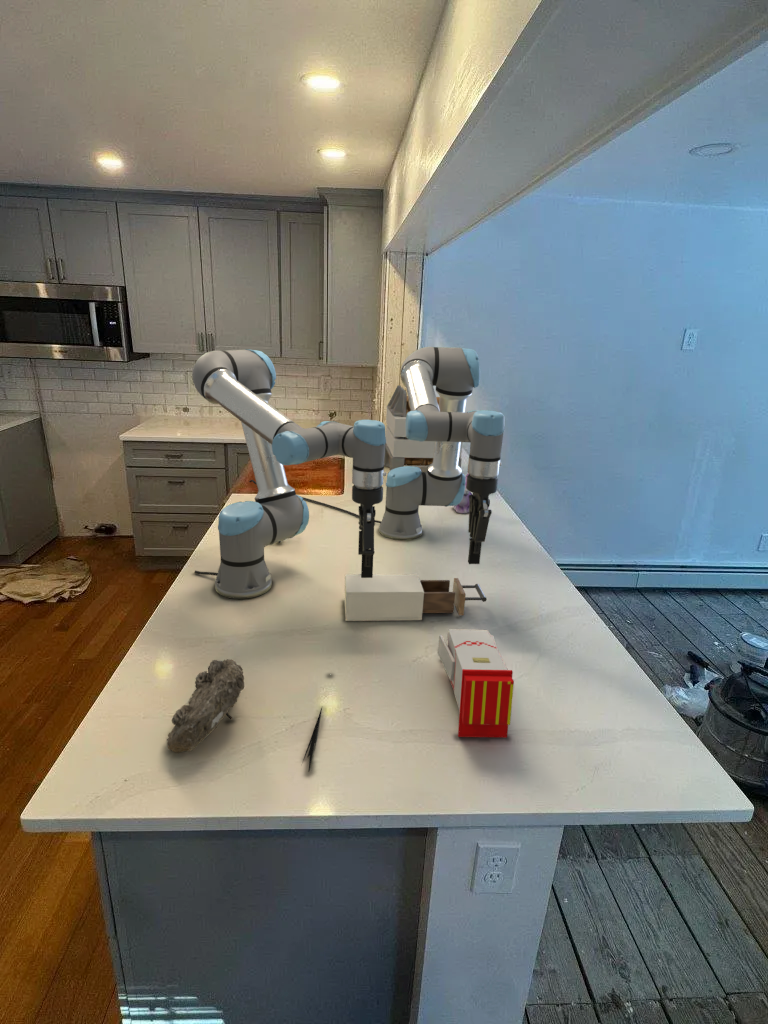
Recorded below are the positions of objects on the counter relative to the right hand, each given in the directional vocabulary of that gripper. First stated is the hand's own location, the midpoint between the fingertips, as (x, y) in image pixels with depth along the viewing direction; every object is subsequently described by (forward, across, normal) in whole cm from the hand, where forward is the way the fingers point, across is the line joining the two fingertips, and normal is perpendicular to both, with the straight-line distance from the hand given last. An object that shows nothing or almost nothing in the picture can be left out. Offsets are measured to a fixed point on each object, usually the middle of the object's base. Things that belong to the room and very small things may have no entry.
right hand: (473, 562), depth 147 cm
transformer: (+14, +132, -7) cm, 132 cm away
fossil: (+14, -40, +59) cm, 73 cm away
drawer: (+13, 0, +9) cm, 16 cm away
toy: (+14, -34, +8) cm, 38 cm away
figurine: (+14, +79, -17) cm, 82 cm away
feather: (+14, -41, +39) cm, 58 cm away
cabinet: (+14, 0, +23) cm, 27 cm away
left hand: (+1, 0, +28) cm, 28 cm away
